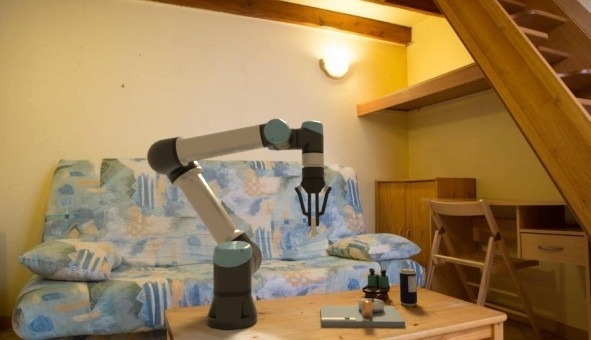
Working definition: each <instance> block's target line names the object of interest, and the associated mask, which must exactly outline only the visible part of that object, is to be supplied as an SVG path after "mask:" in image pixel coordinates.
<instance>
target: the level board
mask: <svg viewBox="0 0 591 340" xmlns="http://www.w3.org/2000/svg"><path fill="white" fill-rule="evenodd" d="M319 307H320V320H321V321H320V322H321V327H333V328H334V327H336V328H337V327H340V328H341V327H342V328H343V327H344V328H345V327H347V328H348V327H357V328H358V327H363V328H365V327H366V328H369V327H370V328H373V327H374V328H377V327H378V328H379V327H380V328H405V327H406V321H405V320H404V318H403V317H402V315H401V314H400V312H399V311H398V310H397V309H396V308H395V307H394V306H393V305H384V311H383V312H380V313H373V318H372V319H364V318H362V311H360V310H359V309H358V305H320V306H319Z"/></svg>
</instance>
